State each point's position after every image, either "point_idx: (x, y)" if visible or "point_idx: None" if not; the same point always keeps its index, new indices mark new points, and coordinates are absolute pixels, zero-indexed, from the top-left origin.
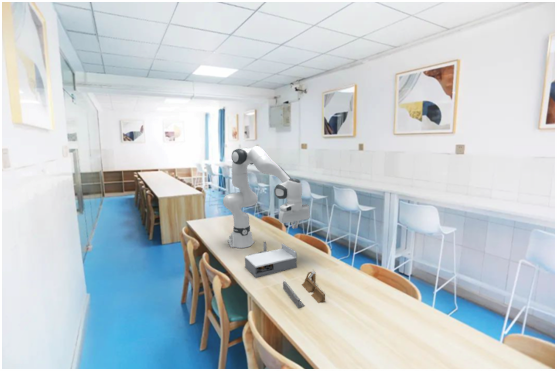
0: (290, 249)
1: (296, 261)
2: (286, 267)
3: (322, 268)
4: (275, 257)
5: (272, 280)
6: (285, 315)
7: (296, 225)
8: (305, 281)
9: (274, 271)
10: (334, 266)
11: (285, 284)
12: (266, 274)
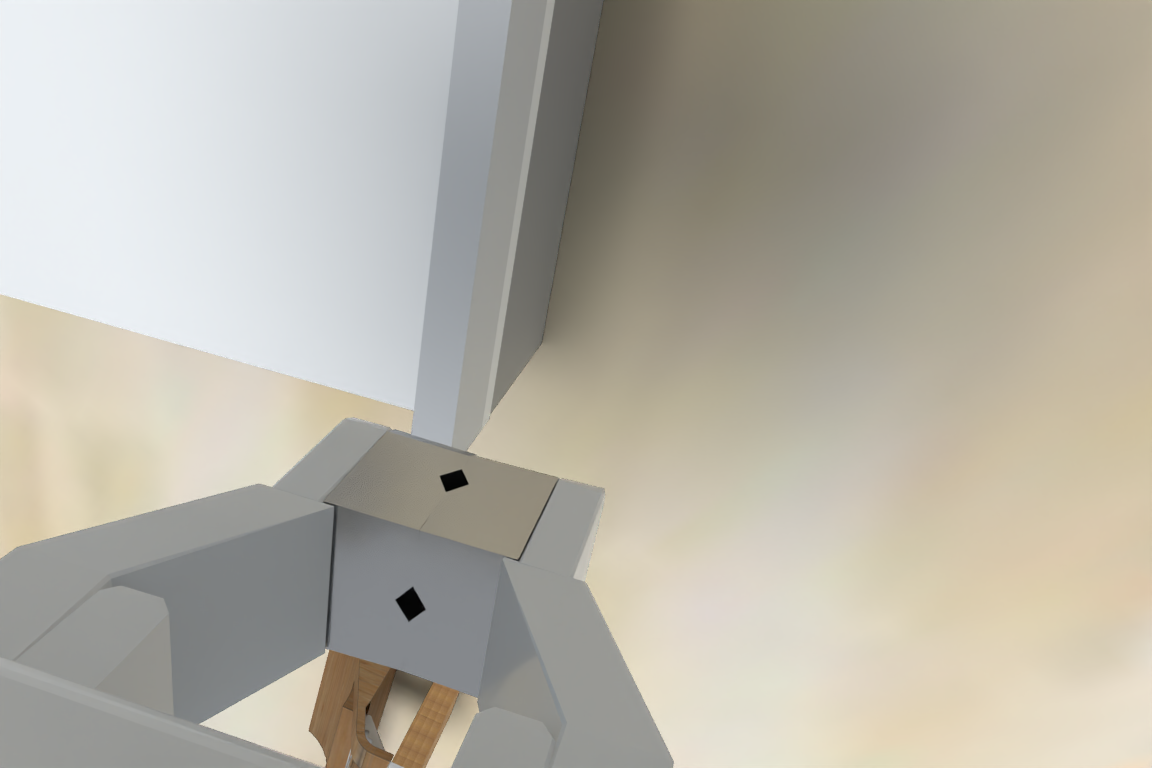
0: (430, 302)
1: (507, 390)
2: None
3: (827, 581)
4: (157, 182)
5: (126, 348)
6: None
7: (468, 688)
8: (356, 668)
9: None
10: (1008, 663)
11: None
12: None
